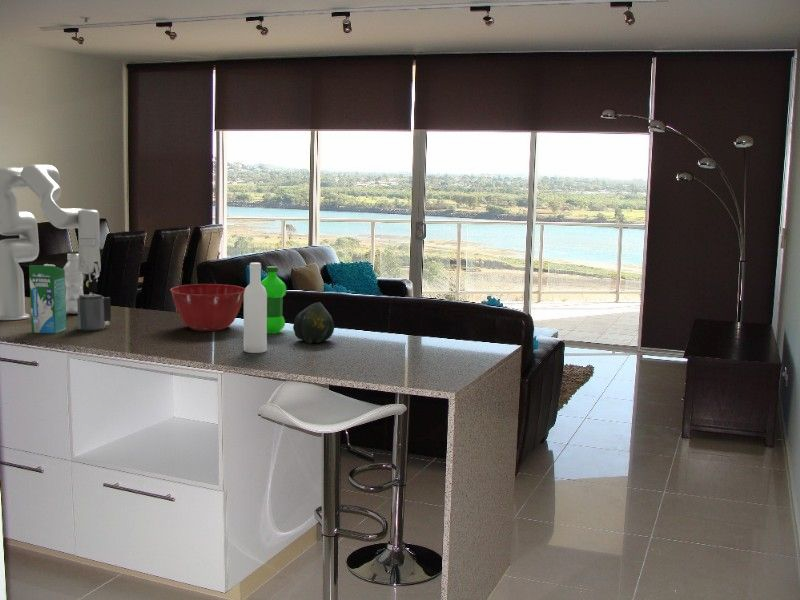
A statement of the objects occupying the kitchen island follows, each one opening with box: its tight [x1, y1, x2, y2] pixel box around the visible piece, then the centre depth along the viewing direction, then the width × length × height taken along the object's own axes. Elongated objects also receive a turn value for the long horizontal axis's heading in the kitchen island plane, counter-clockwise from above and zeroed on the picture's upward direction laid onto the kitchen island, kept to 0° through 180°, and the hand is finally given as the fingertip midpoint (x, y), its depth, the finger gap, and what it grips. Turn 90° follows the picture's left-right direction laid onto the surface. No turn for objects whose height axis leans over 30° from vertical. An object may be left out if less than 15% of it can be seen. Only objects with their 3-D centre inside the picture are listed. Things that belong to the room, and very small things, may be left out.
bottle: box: [243, 262, 268, 354], centre depth 294 cm, size 8×8×30 cm
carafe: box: [77, 293, 112, 332], centre depth 330 cm, size 9×12×13 cm
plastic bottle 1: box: [63, 253, 84, 315], centre depth 361 cm, size 8×8×25 cm
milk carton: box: [28, 263, 67, 335], centre depth 322 cm, size 9×9×25 cm
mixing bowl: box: [169, 283, 246, 332], centre depth 336 cm, size 28×28×16 cm
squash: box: [292, 301, 335, 345], centre depth 315 cm, size 14×15×15 cm
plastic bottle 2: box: [261, 265, 287, 334], centre depth 330 cm, size 10×10×25 cm
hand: (90, 291), depth 328 cm, fingers closed on plunger, 3 cm apart
